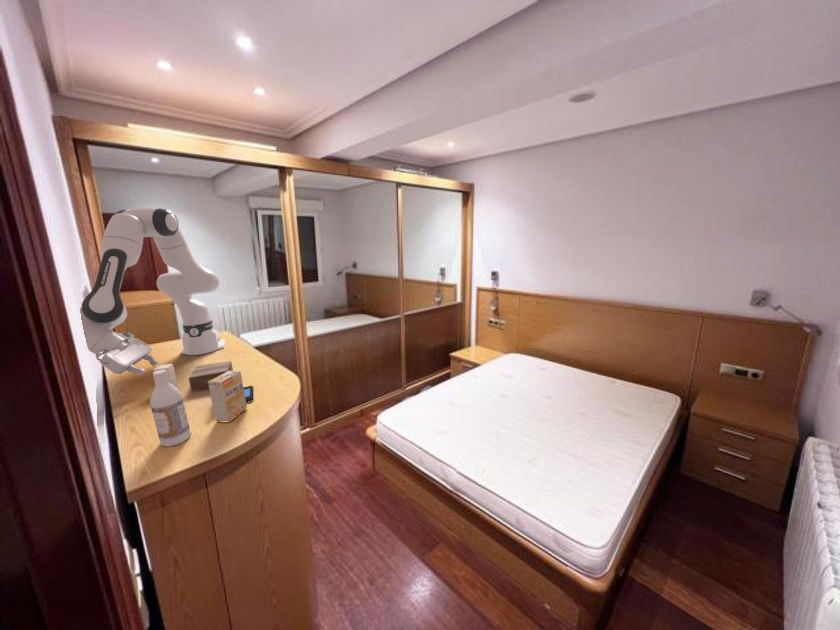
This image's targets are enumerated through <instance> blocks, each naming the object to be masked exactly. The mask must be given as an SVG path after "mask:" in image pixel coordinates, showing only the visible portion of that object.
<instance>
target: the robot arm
mask: <svg viewBox="0 0 840 630" xmlns="http://www.w3.org/2000/svg"><path fill="white" fill-rule="evenodd" d="M152 237H153V241H154V243H155V246H156V248H157V250H158V252H159V254H160V257H161V259H162V262H163V263H164V264H165V265H166V266H168V267H169V268H173V269H174V270H177V271H170V272H166V273H163V274H160V275H159V276H158V277H157V279H156V288H157V289H158V291H159V292H160V293H161V294H163V295H165V296H166V297H168V298H169V299H171V300H172V301H173V302H174V303H175V305H176V306H177V308H178V310H179V313H180V315H181V319H182V320H181V321H182V330H183V333H184V334H183V335H182V336H181V343H182V348H183V349H182V350H181V351H180V354H182V355H187V356H199V355H204V354H209V353H213V352H215V351H219V350H221V349H224V348H225V346H226V344H225V343H226V338H221V337H220V332H219V331H218V330H217V329H215V328H214V324H213V322H214V321H213V319H211V318H210V314H209V308H208V306H207V304H206V303H204V302H202V301H200V300H198V299H197V298H195V297H194V295H200V294H201V295H202V294H203V295H205V294H207V293H208V294H209V293H212V292H216V290H217V289H218V288H219V286H220V285H219V284H220V280H219V276H217V274H216V272H214V271H212V270H210V269H208V268H206V267H205V266H203V265H202V264H201V263H200V262H199V261H198V260H197V259H196V258H195V257H194V256H193V253H192V252H191V249H190V248H189V245H188V242H187V240H186V237H185V235H184V233H183V231H182V230H181V228H180V227H179V220H178V218H177V216H176V214H174V213H173V212H172V210H169V209H166V208H160V207H159V208H153V207H152V208H151V207H141V208H133V209H132V208H129V209H128V208H125V209H120V210H118V211H116V212H115V214H113V215H112V216H111V218H110V219H109V221H108V223H107V225H106V228H105V231H104V233H103V238H102V242H101V251H100V254H101V256H100V257H101V258H100V265H99V268H98V273H97V276H96V280H95V282H94V283H95V284H94V286H93V288H92V289H91V291H90V292H89V293H88V294H87V295H86V296H85V297H84V299H83V300H82V302H81V307H79V308H80V313H81V320H82V325H83V330H84V335H85V338H86V343H87V347H88V349H87V350H88V351H89V352H91V353H93V354H94V355H95V358H96V360H97V361H98V362H99V363H100V364H101V366H103V367H105V368H106V369H107V370H108V371H110V372H112V373H113V374H118V375H121V374H124V372H126V371H127V372H128V373H131V374H137V375H139V376H144V374H146V373H147V370H146V369H144V368H143V367H141V368H139V367H137V366H136V364H138V363H139V362H141V361H142V360H145V361H148V362H149V364H150V365H151V366H153V367H154V366H155V367H156V366H157V364H158V363H159V360H157V359H155V357H154V356H153V355H152V354H151V353H152V351H153V348H152V347H151V346H150V345H149V344H147V343H146V342H145V341H142V340H141V339H139V338H135V337H134V334H132V333H130V332H116V331H114V330H113V329H115V328H117V327H118V326H120V325H121V324H122V323H124V322H125V321H126V319H127V318H128V314H129V313H128V309H127V308H126V305H125V304H124V302H123V301H122V298H121V293H120V292H121V291H120V290H121V287H122V283H123V279H124V274H125V272H126V270H127V268H130V267H133V266H136V264H137V263H138V261H139V259H140V256H141V254H142V250H143V246H144V238H152Z"/></svg>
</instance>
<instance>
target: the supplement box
mask: <svg viewBox="0 0 840 630" xmlns="http://www.w3.org/2000/svg"><path fill="white" fill-rule="evenodd" d="M208 385H209V390H208V391H209V394H210V398H211V404H212V408H213V412H214V417H215V422H216V421H230V420H231V419H232V418H234V417H235V416H237V415H238V414H239V413H241V412H242V411H244V410H245V409H246V408H247V409H248V407H247V403H246V400H245V394H244V389H243V387H244V386H243V385H244V384H243V378H242V371H241V370H233V371H227V372H225V373H224V374H222V375H220V376H218V377H216V378H214V379H212V380H210V381H208ZM245 411H246V410H245ZM245 411H244V412H245ZM242 413H243V412H242ZM242 413H241V414H242ZM239 415H240V414H239ZM239 415H238V416H239ZM238 416H237V417H238ZM235 418H236V417H235ZM235 418H234V419H235ZM230 422H231V421H230Z"/></svg>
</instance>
